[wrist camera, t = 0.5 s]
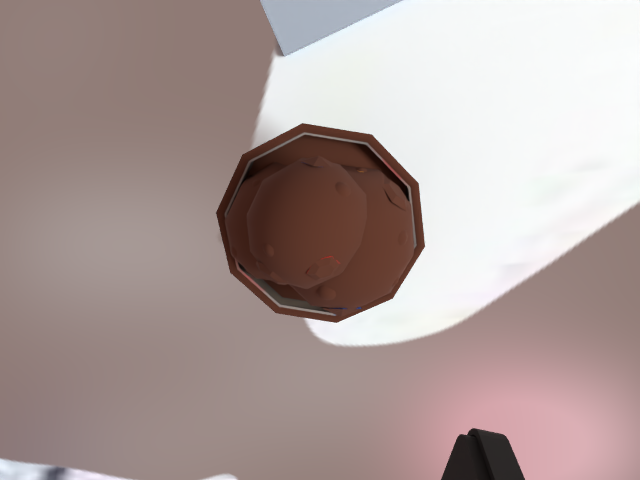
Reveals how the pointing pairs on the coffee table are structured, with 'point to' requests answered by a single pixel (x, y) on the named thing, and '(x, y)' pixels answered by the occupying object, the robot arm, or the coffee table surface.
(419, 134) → the coffee table surface
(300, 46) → the mat
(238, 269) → the ice cream bowl
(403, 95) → the coffee table surface
